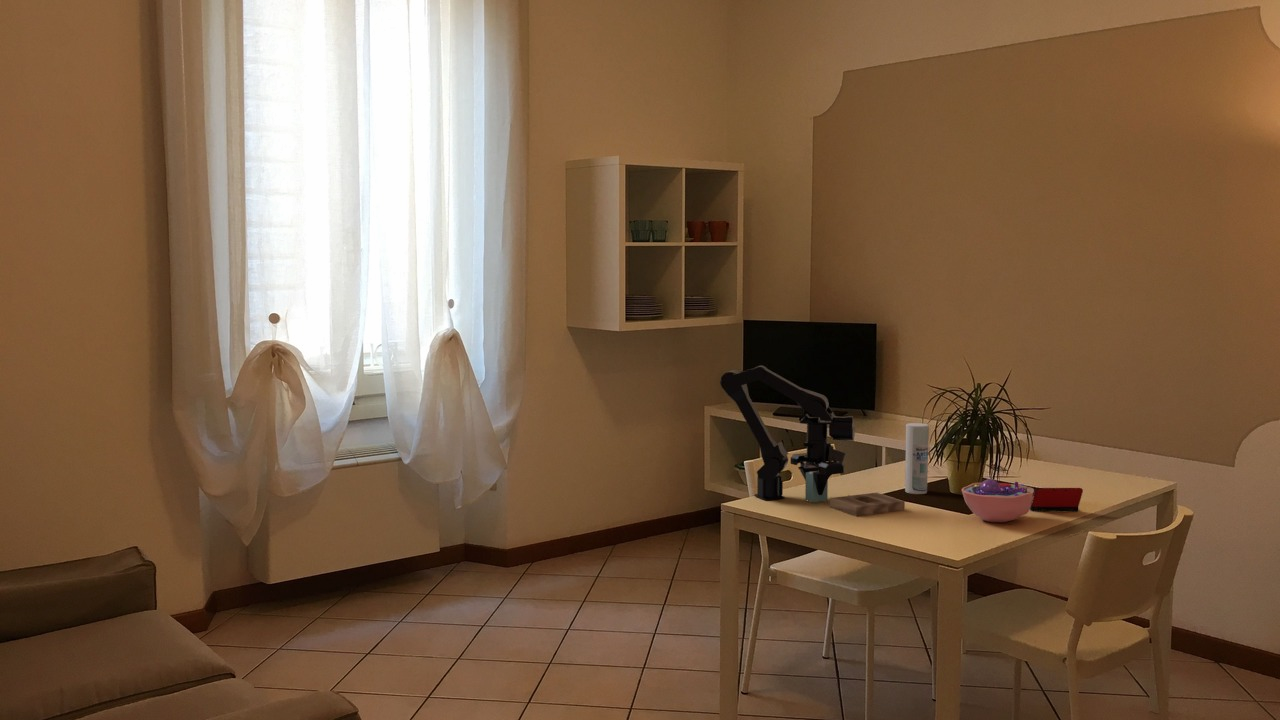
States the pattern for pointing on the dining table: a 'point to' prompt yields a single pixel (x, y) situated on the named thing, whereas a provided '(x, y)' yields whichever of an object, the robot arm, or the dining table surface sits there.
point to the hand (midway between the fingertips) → (816, 493)
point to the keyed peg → (814, 489)
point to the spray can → (916, 458)
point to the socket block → (867, 504)
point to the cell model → (998, 500)
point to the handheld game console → (1056, 499)
